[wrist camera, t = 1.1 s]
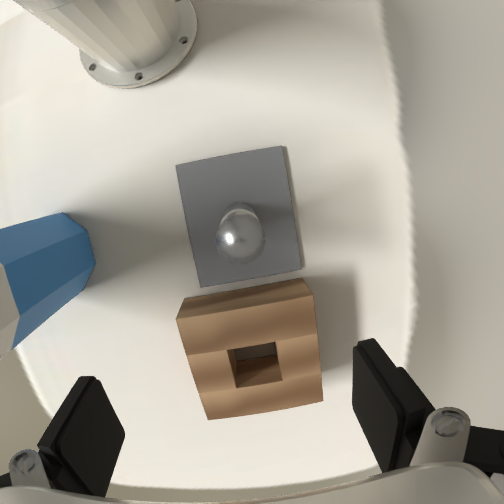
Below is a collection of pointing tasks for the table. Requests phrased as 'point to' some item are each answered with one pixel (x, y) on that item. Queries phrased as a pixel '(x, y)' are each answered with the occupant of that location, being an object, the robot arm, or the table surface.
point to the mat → (231, 191)
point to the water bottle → (39, 273)
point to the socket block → (249, 334)
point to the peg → (240, 235)
